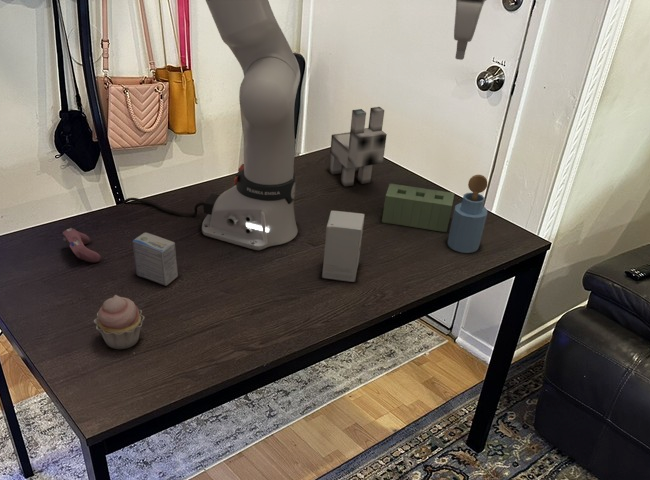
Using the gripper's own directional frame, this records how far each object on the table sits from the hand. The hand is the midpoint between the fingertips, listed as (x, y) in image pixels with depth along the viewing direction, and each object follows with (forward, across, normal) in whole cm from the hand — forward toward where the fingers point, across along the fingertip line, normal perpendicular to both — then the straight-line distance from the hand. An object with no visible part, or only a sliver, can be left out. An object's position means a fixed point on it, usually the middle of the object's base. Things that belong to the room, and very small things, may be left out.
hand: (461, 52), depth 152 cm
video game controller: (+37, +47, -72) cm, 94 cm away
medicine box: (+37, +50, -53) cm, 82 cm away
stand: (+37, +8, -3) cm, 38 cm away
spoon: (+37, +16, +9) cm, 41 cm away
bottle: (+37, +16, +9) cm, 41 cm away
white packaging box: (+37, +36, -16) cm, 54 cm away
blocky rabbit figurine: (+37, -10, -22) cm, 45 cm away
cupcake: (+37, +72, -51) cm, 96 cm away
